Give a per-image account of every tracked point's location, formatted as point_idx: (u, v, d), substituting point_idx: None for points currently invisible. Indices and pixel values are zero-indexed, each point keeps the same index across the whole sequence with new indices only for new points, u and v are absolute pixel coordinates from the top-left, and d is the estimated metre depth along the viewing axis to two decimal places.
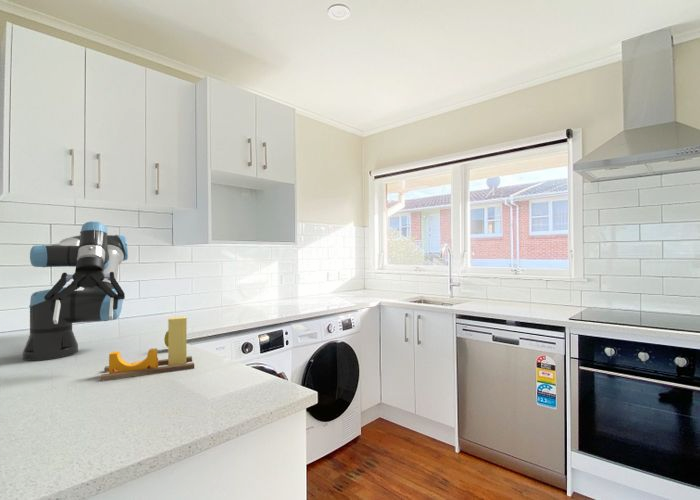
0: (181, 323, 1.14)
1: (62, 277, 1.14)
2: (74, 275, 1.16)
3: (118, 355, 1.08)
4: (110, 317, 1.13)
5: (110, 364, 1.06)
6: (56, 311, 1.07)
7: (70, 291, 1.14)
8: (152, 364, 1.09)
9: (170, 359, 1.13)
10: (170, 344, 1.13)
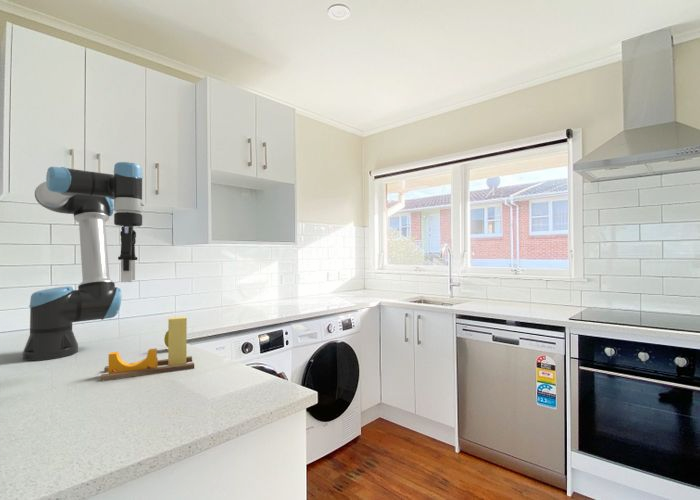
0: (181, 323, 1.14)
1: (131, 232, 1.09)
2: None
3: (117, 355, 1.07)
4: None
5: (109, 364, 1.06)
6: None
7: None
8: (152, 364, 1.09)
9: (170, 359, 1.13)
10: (170, 344, 1.13)
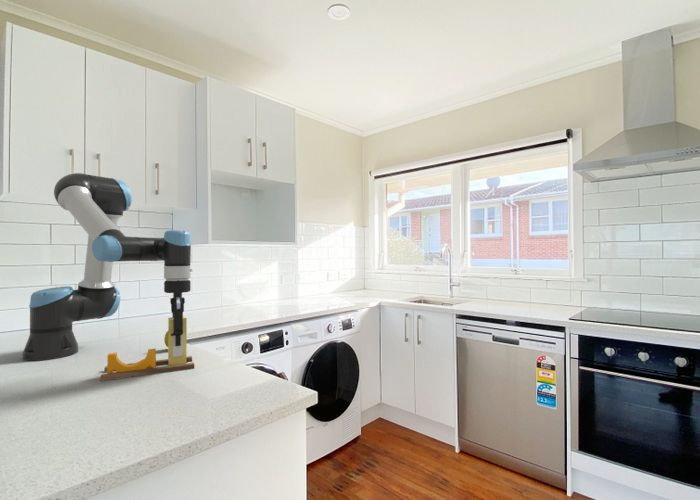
0: None
1: (182, 308, 1.11)
2: (181, 300, 1.13)
3: (116, 356, 1.06)
4: None
5: (108, 365, 1.05)
6: None
7: None
8: (152, 364, 1.09)
9: (170, 359, 1.13)
10: (170, 344, 1.13)
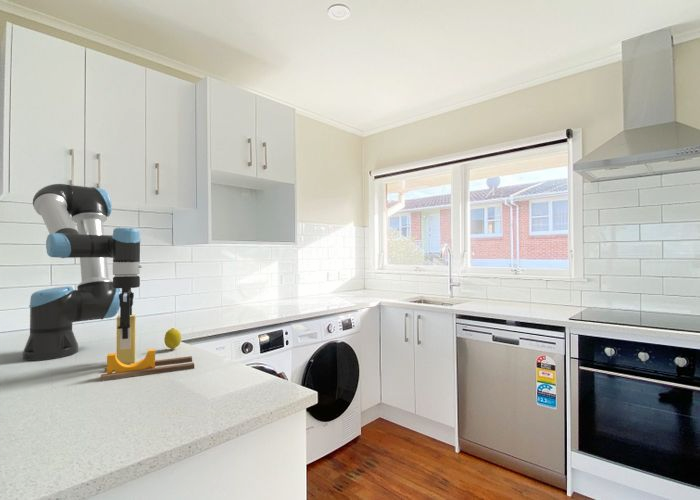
0: (130, 321, 1.18)
1: (129, 300, 1.15)
2: (129, 295, 1.17)
3: (116, 357, 1.06)
4: None
5: (108, 366, 1.04)
6: None
7: None
8: (151, 364, 1.09)
9: (118, 356, 1.17)
10: (118, 341, 1.17)
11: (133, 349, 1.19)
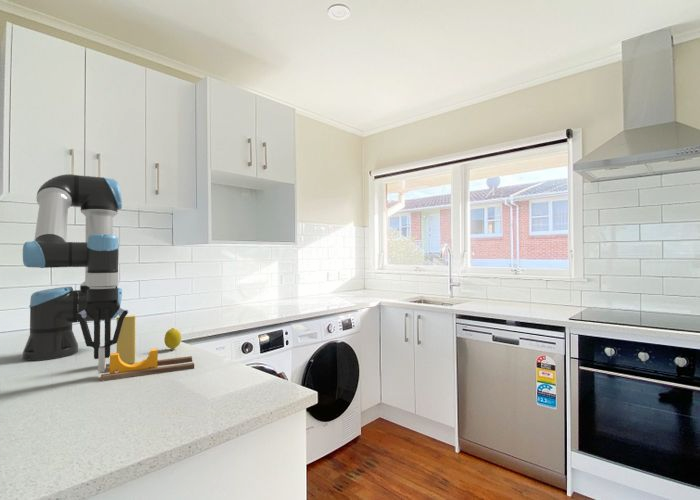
0: (130, 321, 1.18)
1: None
2: None
3: (118, 356, 1.06)
4: None
5: (111, 366, 1.04)
6: None
7: (105, 328, 1.06)
8: (154, 364, 1.09)
9: None
10: (118, 341, 1.17)
11: (133, 349, 1.19)
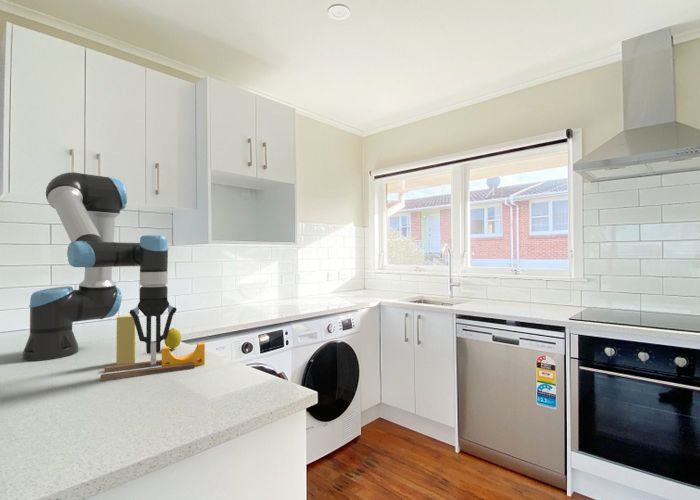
0: (130, 321, 1.18)
1: None
2: None
3: (169, 350, 1.13)
4: None
5: (163, 358, 1.11)
6: None
7: (156, 324, 1.12)
8: (201, 357, 1.16)
9: (118, 356, 1.17)
10: (118, 341, 1.17)
11: (133, 349, 1.19)
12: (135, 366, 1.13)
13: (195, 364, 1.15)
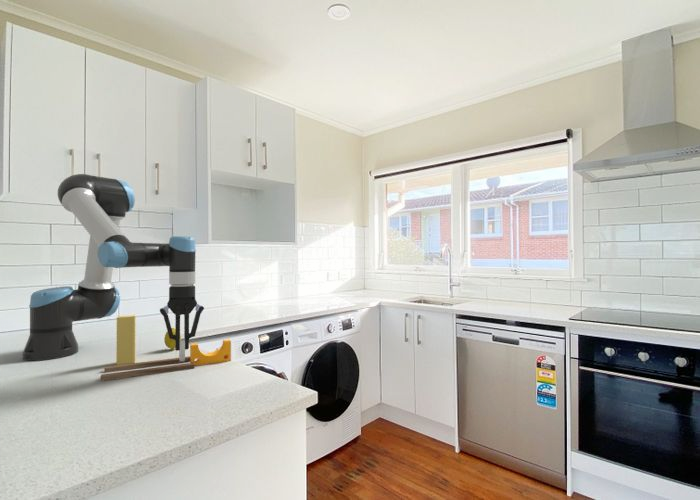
0: (130, 321, 1.18)
1: None
2: None
3: None
4: None
5: (192, 355, 1.15)
6: None
7: (184, 322, 1.16)
8: (228, 353, 1.20)
9: (118, 356, 1.17)
10: (118, 341, 1.17)
11: (133, 349, 1.19)
12: (135, 366, 1.13)
13: (222, 360, 1.19)
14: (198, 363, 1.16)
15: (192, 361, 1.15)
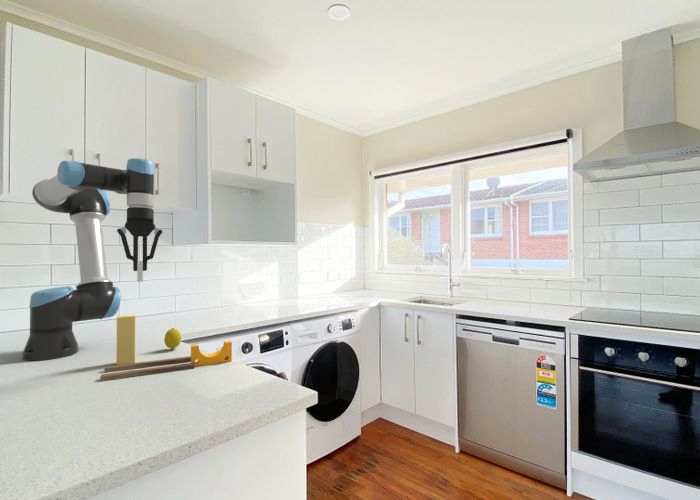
0: (130, 321, 1.18)
1: None
2: None
3: None
4: None
5: (193, 356, 1.14)
6: None
7: None
8: (229, 354, 1.20)
9: (118, 356, 1.17)
10: (118, 341, 1.17)
11: (133, 349, 1.19)
12: (135, 366, 1.13)
13: (223, 361, 1.19)
14: (199, 364, 1.15)
15: (192, 362, 1.14)
